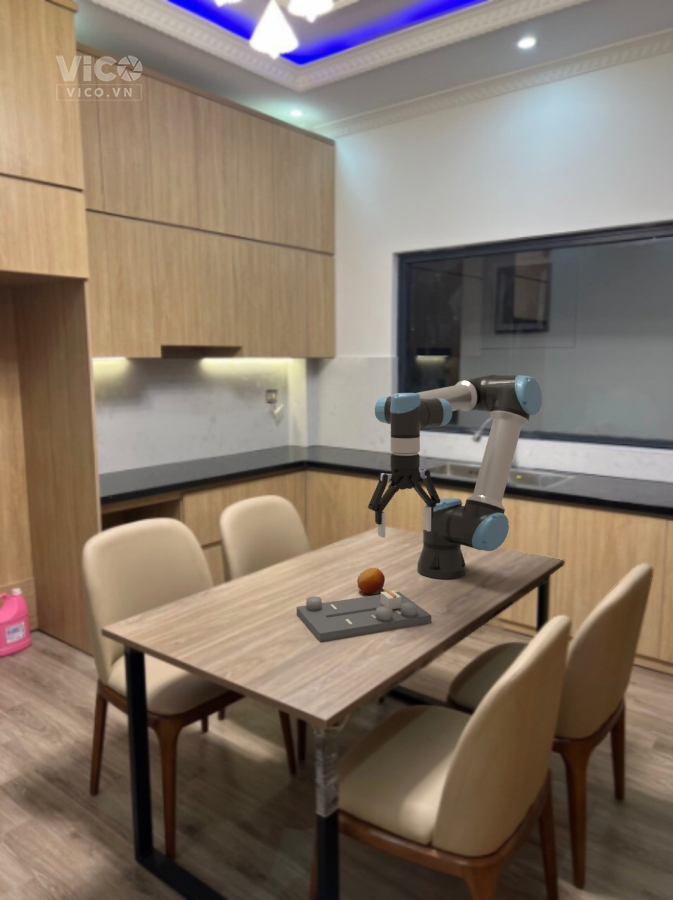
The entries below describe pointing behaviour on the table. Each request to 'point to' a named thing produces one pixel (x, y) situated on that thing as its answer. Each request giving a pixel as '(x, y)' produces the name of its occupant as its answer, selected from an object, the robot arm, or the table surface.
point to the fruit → (371, 581)
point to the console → (358, 616)
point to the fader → (390, 599)
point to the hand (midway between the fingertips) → (404, 533)
